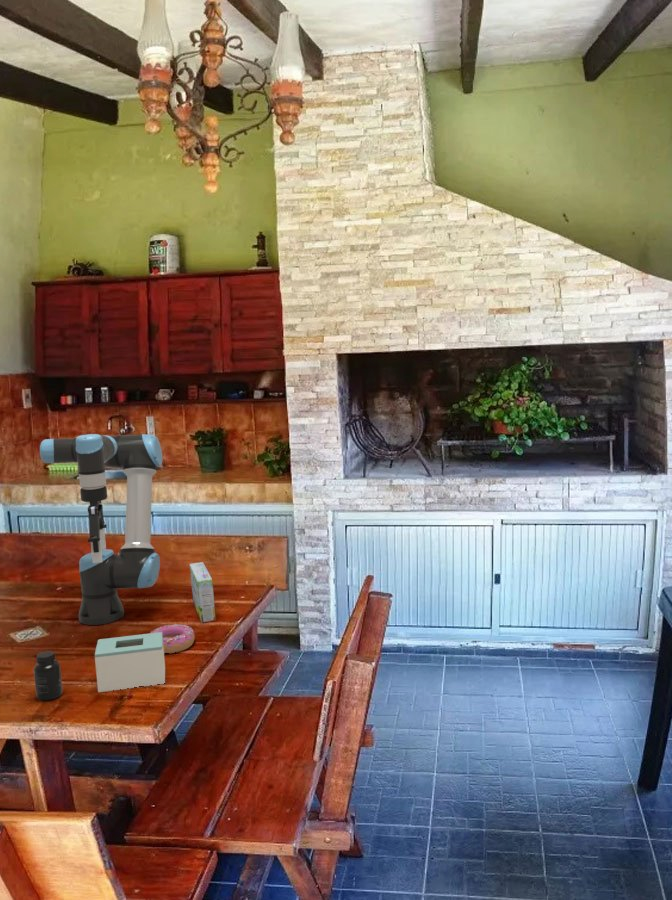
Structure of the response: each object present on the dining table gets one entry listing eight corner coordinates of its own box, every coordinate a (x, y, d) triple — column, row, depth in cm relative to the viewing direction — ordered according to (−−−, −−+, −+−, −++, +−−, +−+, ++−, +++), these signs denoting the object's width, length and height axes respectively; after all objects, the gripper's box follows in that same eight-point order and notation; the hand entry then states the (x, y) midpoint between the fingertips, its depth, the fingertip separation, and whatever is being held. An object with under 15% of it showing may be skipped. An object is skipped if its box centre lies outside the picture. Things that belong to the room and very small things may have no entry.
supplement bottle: (67, 694, 215) (63, 653, 213) (44, 704, 210) (39, 661, 208) (55, 687, 219) (50, 647, 217) (31, 696, 214) (27, 655, 212)
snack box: (191, 603, 282) (188, 563, 280) (207, 601, 284) (204, 561, 282) (200, 623, 262) (197, 580, 260) (216, 621, 264) (213, 578, 262)
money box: (101, 675, 226) (98, 639, 224) (165, 667, 229) (162, 631, 227) (98, 692, 215) (94, 654, 213) (164, 683, 218) (161, 646, 217)
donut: (204, 642, 247) (203, 627, 246) (172, 659, 235) (171, 643, 234) (171, 634, 255) (170, 619, 254) (138, 650, 243) (137, 635, 242)
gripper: (84, 480, 242) (90, 546, 246) (75, 496, 218) (82, 569, 222) (109, 478, 244) (115, 543, 247) (102, 494, 220) (109, 566, 223)
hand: (99, 556), depth 234 cm, fingers open, 13 cm apart
